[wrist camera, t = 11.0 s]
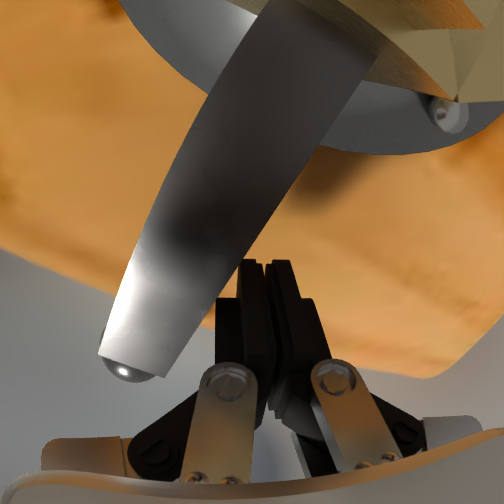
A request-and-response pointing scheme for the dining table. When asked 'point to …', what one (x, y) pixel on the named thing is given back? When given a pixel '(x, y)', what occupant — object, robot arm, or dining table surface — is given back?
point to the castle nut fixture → (279, 145)
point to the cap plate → (354, 112)
